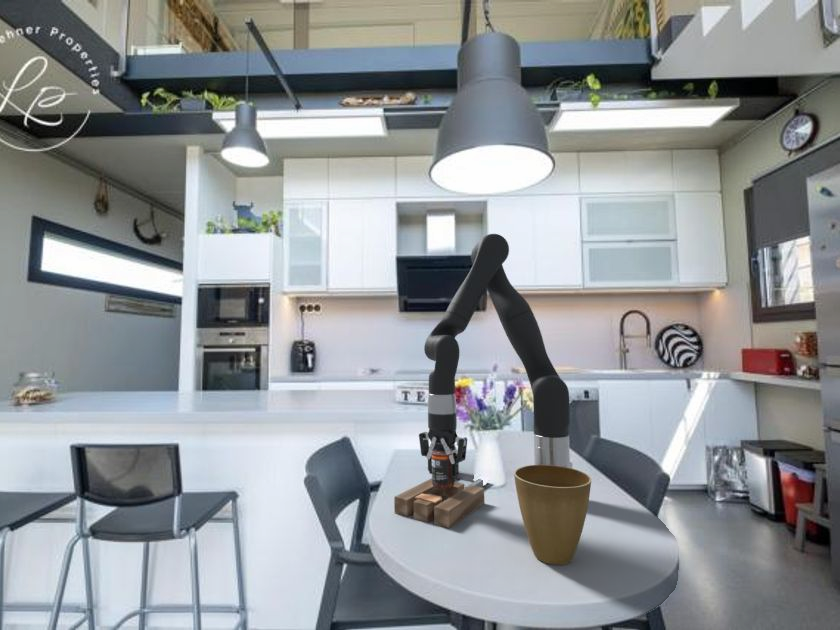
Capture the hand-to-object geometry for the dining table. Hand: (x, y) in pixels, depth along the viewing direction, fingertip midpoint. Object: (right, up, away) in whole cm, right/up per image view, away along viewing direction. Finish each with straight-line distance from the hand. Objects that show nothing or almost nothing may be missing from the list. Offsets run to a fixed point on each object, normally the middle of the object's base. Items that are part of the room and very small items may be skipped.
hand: (442, 475), depth 113 cm
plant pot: (+21, -6, -27) cm, 35 cm away
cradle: (+6, -9, +15) cm, 19 cm away
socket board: (-1, -8, -2) cm, 8 cm away
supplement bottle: (0, -3, 0) cm, 3 cm away
